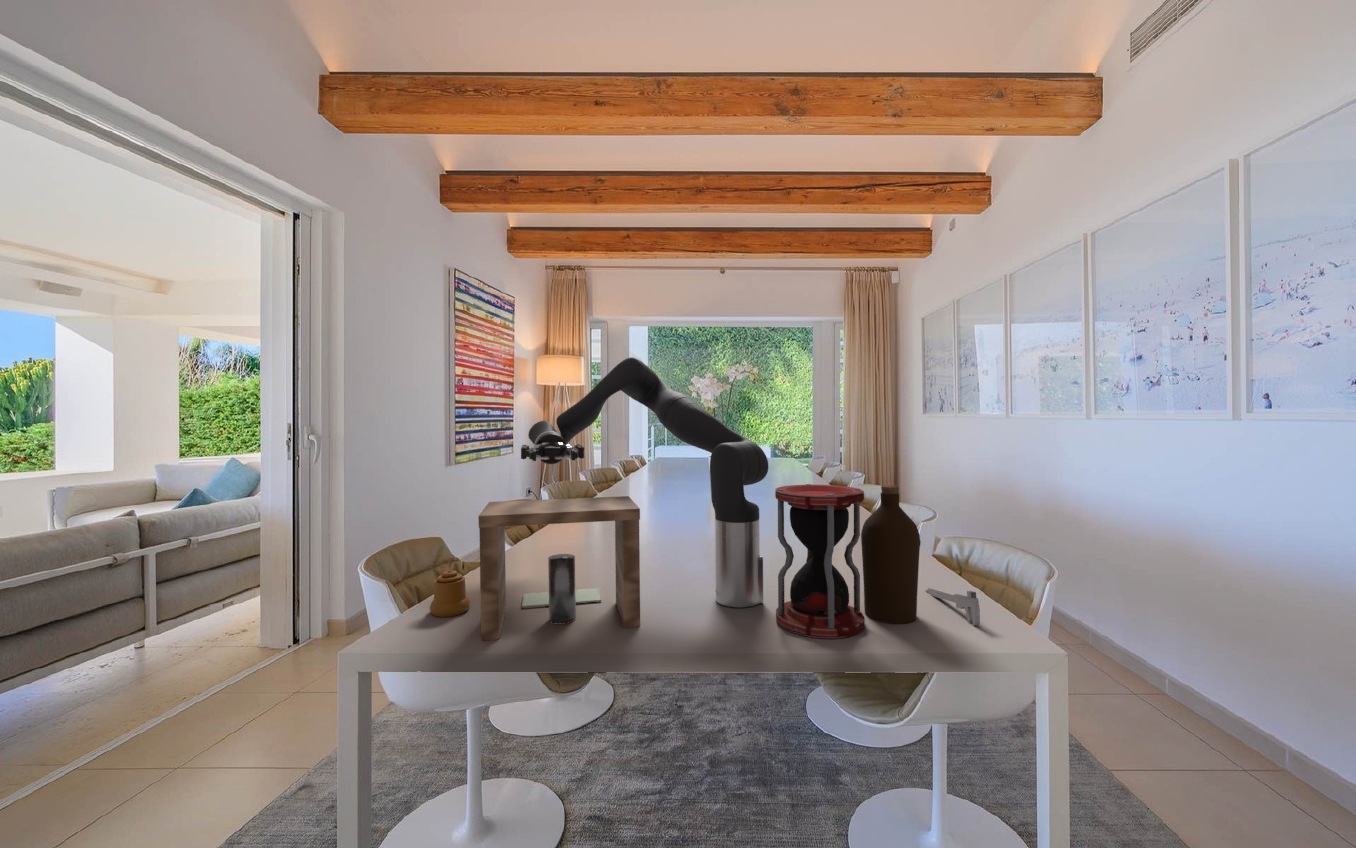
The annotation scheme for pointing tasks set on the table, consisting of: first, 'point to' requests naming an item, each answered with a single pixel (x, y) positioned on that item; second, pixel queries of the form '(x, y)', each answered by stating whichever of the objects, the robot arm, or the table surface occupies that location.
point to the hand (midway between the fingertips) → (554, 456)
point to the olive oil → (890, 561)
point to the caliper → (961, 603)
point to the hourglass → (819, 561)
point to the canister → (562, 588)
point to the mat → (543, 598)
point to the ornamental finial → (449, 595)
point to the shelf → (556, 513)
